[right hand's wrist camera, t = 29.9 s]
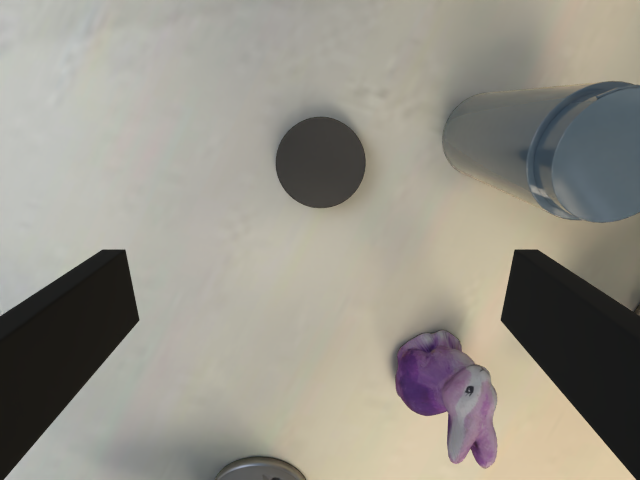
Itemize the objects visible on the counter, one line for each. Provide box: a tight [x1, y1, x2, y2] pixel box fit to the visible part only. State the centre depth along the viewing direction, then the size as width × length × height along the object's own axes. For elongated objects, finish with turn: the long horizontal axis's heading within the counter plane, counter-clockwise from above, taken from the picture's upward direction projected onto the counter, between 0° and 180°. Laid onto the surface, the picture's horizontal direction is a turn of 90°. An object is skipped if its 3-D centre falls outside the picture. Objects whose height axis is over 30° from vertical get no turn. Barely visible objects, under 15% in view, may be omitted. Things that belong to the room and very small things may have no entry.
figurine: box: [396, 330, 497, 469], centre depth 41 cm, size 9×10×15 cm
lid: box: [276, 117, 365, 208], centre depth 39 cm, size 9×9×2 cm
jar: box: [442, 81, 640, 223], centre depth 30 cm, size 9×9×19 cm
